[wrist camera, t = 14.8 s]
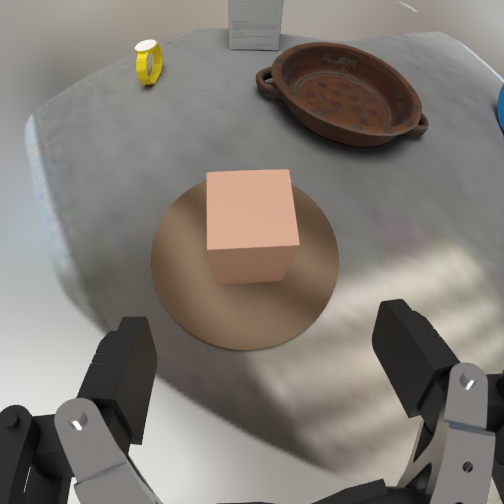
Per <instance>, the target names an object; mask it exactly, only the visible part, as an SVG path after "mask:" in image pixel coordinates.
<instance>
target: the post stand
mask: <svg viewBox="0 0 504 504" xmlns="http://www.w3.org/2000/svg"><path fill="white" fill-rule="evenodd" d="M291 187H292V194H293V201H294V207H295V214H296V222H297V229H298V236H299V244H300V245H299V248H298V250H297V252H296V254H295V256H294V258H293V260H292V262H291V264H290V266H289V268H288V270H287V272H286V274H285V276H284V278H283V280H282V281H278V282H261V283H244V284H225V285H217V282H216V279H215V275H214V272H213V268H212V265H211V261H210V258H209V255H208V251H207V180H205V181H203V182H201V183H199V184H197V185H196V186H194V187H192V188H191V189H189V190H188V191H187V192H185V193H184V194H183V195H181V196H180V197H179V198H178V199H177V200H176V201H175V202H174V203H173V204H172V206H171V207H170V208H169V209H168V211H167V212H166V214H165V215H164V217H163V219H162V220H161V222H160V224H159V227H158V229H157V231H156V234H155V238H154V241H153V246H152V253H151V268H152V276H153V280H154V284H155V287H156V290H157V293H158V295H159V297H160V299H161V301H162V303H163V305H164V306H165V308H166V309H167V311H168V312H169V313H170V315H171V316H172V317H173V318H174V320H175V321H176V322H177V323H179V324H180V325H181V326H182V327H183V328H184V329H185V330H187V331H188V332H190V333H191V334H193V335H194V336H195V337H197V338H199V339H201V340H203V341H205V342H207V343H209V344H212V345H215V346H218V347H221V348H227V349H232V350H247V351H248V350H259V349H264V348H268V347H272V346H275V345H278V344H281V343H283V342H286V341H288V340H289V339H291V338H293V337H295V336H297V335H298V334H300V333H301V332H302V331H304V330H305V329H306V328H308V327H309V326H310V325H311V324H312V323H313V322H314V321H315V320H316V319H317V318H318V317H319V315H320V314H321V313H322V311H323V310H324V309H325V307H326V305H327V303H328V302H329V300H330V298H331V296H332V293H333V290H334V288H335V285H336V280H337V276H338V266H339V258H338V248H337V243H336V239H335V236H334V233H333V230H332V228H331V225H330V223H329V221H328V219H327V218H326V216H325V215H324V213H323V212H322V210H321V209H320V208H319V207H318V205H317V204H316V203H315V202H314V201H313V200H312V199H311V198H310V197H309V196H308V195H307V194H305V193H304V192H303V191H301V190H300V189H298V188H297V187H295V186H293V185H292V184H291Z"/></svg>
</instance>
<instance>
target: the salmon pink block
mask: <svg viewBox="0 0 504 504" xmlns="http://www.w3.org/2000/svg"><path fill="white" fill-rule="evenodd" d="M299 245H300V244H299V236H298V229H297V222H296V214H295V207H294V201H293V194H292V187H291V181H290V174H289V170H248V171H225V172H207V251H208V255H209V258H210V261H211V265H212V268H213V272H214V275H215V279H216V282H217V285H225V284H244V283H261V282H278V281H282V280H283V278H284V276H285V274H286V272H287V270H288V268H289V266H290V264H291V262H292V260H293V258H294V256H295V254H296V252H297V250H298V248H299Z"/></svg>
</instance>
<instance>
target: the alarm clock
mask: <svg viewBox="0 0 504 504" xmlns="http://www.w3.org/2000/svg"><path fill="white" fill-rule="evenodd" d="M497 113H498V119H499V123H500V126H501V128H502V130H503V131H504V84H503V86H502V88H501V91H500V94H499V98H498V105H497Z"/></svg>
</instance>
